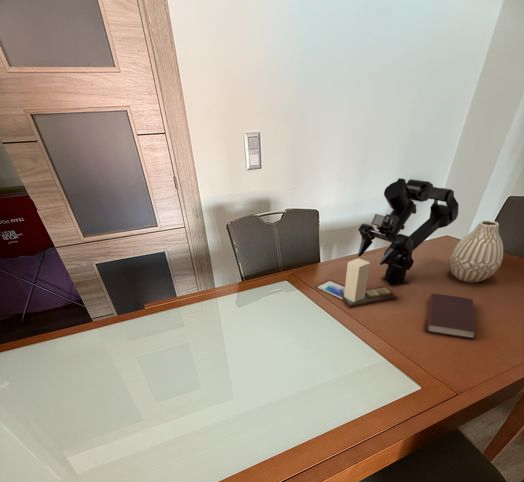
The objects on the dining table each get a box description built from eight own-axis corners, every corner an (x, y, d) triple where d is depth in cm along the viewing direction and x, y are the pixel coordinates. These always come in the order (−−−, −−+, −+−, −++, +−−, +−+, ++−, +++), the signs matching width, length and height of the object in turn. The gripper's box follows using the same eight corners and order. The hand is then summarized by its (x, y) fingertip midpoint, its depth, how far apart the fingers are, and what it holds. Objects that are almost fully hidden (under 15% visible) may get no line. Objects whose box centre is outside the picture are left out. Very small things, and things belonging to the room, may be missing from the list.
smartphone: (329, 280, 120) (360, 293, 110) (329, 282, 120) (360, 295, 111) (316, 286, 116) (347, 300, 107) (316, 288, 117) (347, 302, 107)
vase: (467, 265, 121) (488, 212, 109) (503, 282, 110) (530, 225, 97) (434, 273, 118) (451, 220, 106) (467, 291, 107) (490, 234, 94)
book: (424, 331, 91) (428, 323, 89) (428, 300, 104) (431, 291, 102) (473, 340, 86) (477, 331, 84) (470, 306, 99) (474, 298, 97)
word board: (383, 288, 112) (383, 284, 111) (394, 299, 106) (395, 294, 105) (340, 296, 110) (340, 292, 109) (349, 307, 104) (350, 303, 103)
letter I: (354, 292, 110) (358, 257, 101) (364, 297, 106) (370, 262, 98) (343, 296, 108) (347, 262, 99) (354, 302, 104) (359, 267, 96)
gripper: (365, 197, 98) (338, 240, 101) (417, 208, 86) (383, 256, 89) (378, 217, 106) (352, 256, 109) (426, 229, 94) (395, 273, 97)
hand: (369, 260), depth 101 cm, fingers open, 9 cm apart
